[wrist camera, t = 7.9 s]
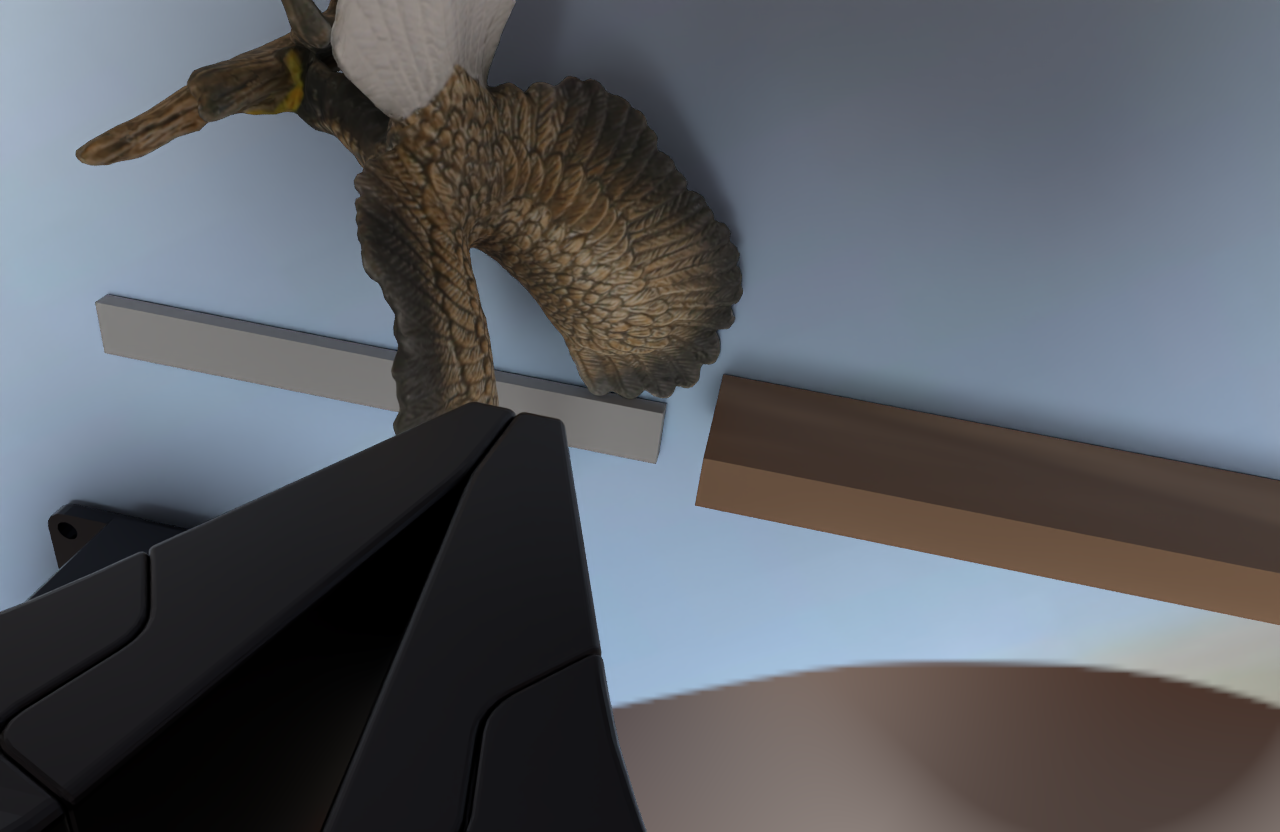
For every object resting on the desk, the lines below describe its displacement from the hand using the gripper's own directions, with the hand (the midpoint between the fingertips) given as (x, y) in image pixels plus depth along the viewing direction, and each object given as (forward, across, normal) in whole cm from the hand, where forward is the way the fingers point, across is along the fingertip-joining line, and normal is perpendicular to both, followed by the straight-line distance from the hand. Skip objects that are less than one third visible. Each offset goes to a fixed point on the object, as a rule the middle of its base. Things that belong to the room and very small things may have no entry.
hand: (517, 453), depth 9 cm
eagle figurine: (+10, +3, +2) cm, 11 cm away
